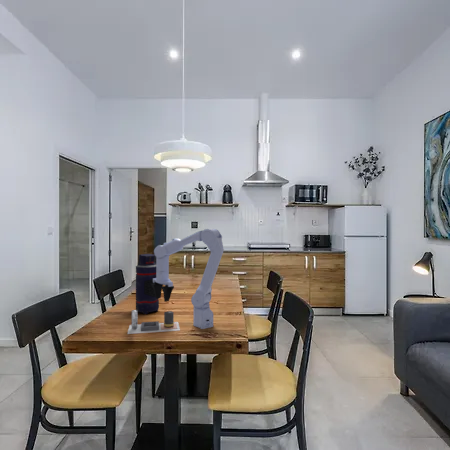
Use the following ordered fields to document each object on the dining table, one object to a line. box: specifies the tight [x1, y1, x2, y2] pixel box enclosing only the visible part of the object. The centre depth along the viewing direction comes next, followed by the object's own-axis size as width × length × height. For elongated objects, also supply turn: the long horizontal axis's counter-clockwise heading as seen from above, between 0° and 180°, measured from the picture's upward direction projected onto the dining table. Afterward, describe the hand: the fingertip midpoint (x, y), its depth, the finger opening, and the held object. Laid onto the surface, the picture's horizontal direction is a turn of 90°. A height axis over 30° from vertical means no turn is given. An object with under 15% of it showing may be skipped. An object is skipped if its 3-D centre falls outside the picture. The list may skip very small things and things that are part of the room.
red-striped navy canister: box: [135, 253, 160, 315], centre depth 168 cm, size 14×12×30 cm
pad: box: [161, 323, 177, 330], centre depth 139 cm, size 7×7×1 cm
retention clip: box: [131, 309, 139, 329], centre depth 131 cm, size 13×2×8 cm, turn 17°
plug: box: [163, 310, 175, 328], centre depth 139 cm, size 4×4×6 cm
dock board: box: [127, 320, 181, 335], centre depth 138 cm, size 22×12×2 cm, turn 103°
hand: (162, 299), depth 149 cm, fingers open, 7 cm apart
